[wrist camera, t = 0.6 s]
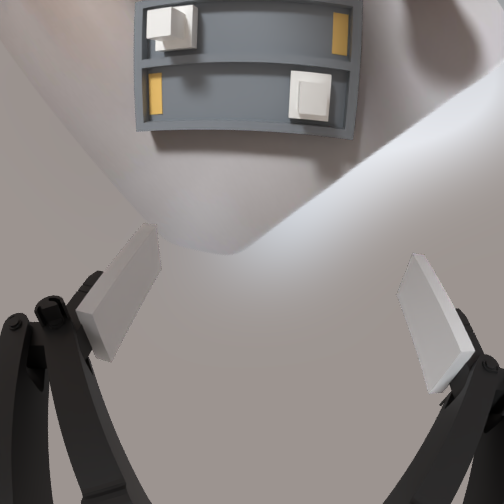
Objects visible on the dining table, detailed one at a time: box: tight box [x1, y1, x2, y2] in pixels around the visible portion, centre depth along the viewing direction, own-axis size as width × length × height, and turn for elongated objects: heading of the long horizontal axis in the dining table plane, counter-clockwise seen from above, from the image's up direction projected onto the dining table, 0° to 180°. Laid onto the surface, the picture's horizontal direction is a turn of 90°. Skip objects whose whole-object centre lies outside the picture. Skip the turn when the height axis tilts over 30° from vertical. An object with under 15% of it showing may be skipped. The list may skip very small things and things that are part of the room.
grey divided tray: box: [134, 0, 363, 140], centre depth 28 cm, size 16×24×4 cm, turn 88°
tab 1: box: [146, 5, 198, 52], centre depth 23 cm, size 5×4×6 cm
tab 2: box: [288, 71, 332, 122], centre depth 26 cm, size 5×4×6 cm
